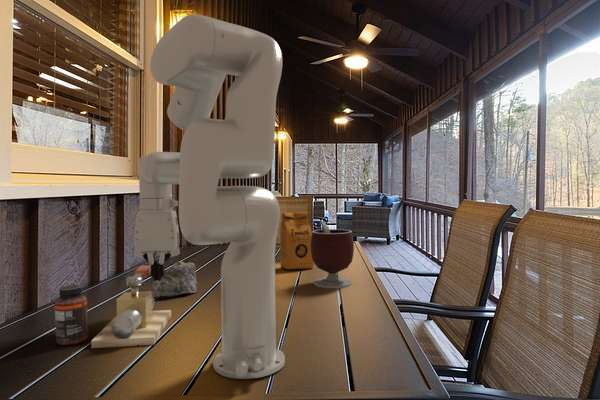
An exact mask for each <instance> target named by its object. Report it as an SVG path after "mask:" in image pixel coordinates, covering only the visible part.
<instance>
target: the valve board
mask: <svg viewBox="0 0 600 400" xmlns="http://www.w3.org/2000/svg"><path fill="white" fill-rule="evenodd" d="M152 317H153V319H152V320H151V322H150V323H149V324H148V326H147V327H144V328H136V330H135V331H134V332H133V334H132V335H131V336H130V337H128V338H126V339H119V338H117V337H115V336H114V335H113V333H112V331H111V326H112V323H113V322H114V321H115V320H116V319H117V315H116V316H115V317H114V318H113V319H112V320H111V321H110V322H109V323H108V324H107V325H106V326H104V327H103V329H102V330H101V331H100V332H98V334H96V335H95V336H94V337H93V339H92V340H90V341H91V343H90V344H91V349H103V348H117V347H118V348H119V347H135V346H136V347H138V346H137V345H139V346H151V345H152V346H154V345H155V344H156V343H157V341H158V339H159V337H160V335H161V334H162V333H163V331H162V330H164V329H165V327H166V326H165V325H167V324H168V322H169V321H168V320H170V319H171V317H172V310H171V309H165V310H152Z"/></svg>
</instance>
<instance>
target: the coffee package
mask: <svg viewBox="0 0 600 400" xmlns="http://www.w3.org/2000/svg"><path fill="white" fill-rule="evenodd" d="M308 216H309V212H308V211H300V212H282V213H281V223H280V232H279V234H280V235H279V238H280V239H279V240H280V243H279V248H280V249H279V250H280V251H279V252H280V257H279V258H280V268H282V269H285V270H293V271H294V270H295V271H296V270H306V269H314V266H315V263H314V262H313V259H312V255H311V237H312V233H313V232H312V229H311V225H310V220H309V218H308Z"/></svg>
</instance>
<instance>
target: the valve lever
mask: <svg viewBox="0 0 600 400" xmlns="http://www.w3.org/2000/svg"><path fill="white" fill-rule="evenodd" d="M134 273H135V274H134V275H133V276H128V277H126V287H129V288H131V287H133V286H142V285H143V279H147V278H148V277H149V276H150V275H151V265H150V264H148V265H140V266H138V268H136V269H135V270H134Z"/></svg>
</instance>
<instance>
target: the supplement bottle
mask: <svg viewBox="0 0 600 400" xmlns="http://www.w3.org/2000/svg"><path fill="white" fill-rule="evenodd" d="M58 290H59V297H58V298H56V300H55V302H54V319H55V322H54V323H55V338H56V340H55V341H56V344H58V345H59V346H71V345H77V344H80V343H83V342H85V341H86V340H87V339H88V338H89V316H88V298H87V296H85V295H83V294H82V286H81V285H78V284H72V285H65V286H62V287H60V288H59V289H58Z"/></svg>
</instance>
